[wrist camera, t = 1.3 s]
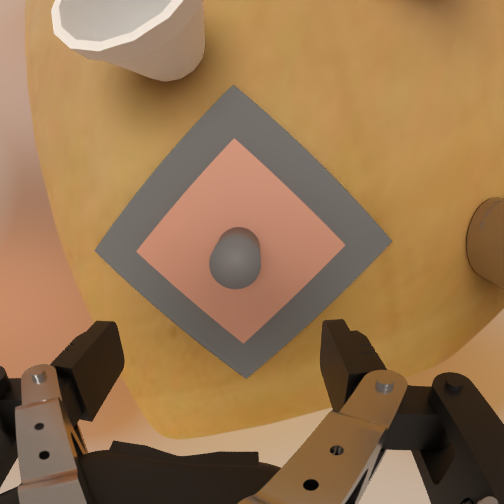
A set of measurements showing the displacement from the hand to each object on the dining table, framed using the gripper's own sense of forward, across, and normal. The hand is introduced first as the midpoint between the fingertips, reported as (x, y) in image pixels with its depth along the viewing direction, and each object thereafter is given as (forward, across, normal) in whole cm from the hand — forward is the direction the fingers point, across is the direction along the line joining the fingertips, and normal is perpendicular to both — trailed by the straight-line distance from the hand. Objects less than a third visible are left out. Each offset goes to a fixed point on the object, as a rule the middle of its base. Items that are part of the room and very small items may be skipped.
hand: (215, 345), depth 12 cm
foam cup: (+18, +6, -18) cm, 26 cm away
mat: (+18, 0, 0) cm, 18 cm away
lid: (+17, 0, 0) cm, 17 cm away
